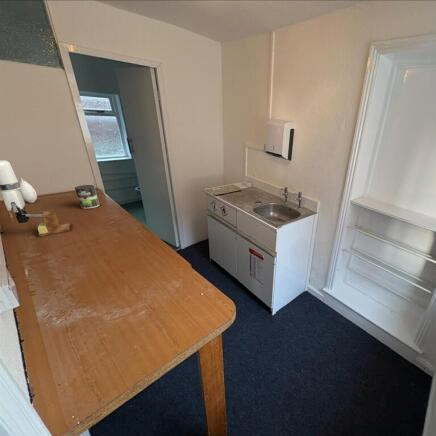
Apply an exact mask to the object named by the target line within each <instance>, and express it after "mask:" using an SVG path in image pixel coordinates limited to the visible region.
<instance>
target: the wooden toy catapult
mask: <svg viewBox="0 0 436 436" xmlns="http://www.w3.org/2000/svg"><path fill="white" fill-rule="evenodd" d="M46 213H47V214H46ZM42 216H43V217H42V218H43V221H44V223H46V226H47V228H48V232H47V233H42V234H40V233H39V232H38V234H37V235H38V237H44V236H48V235H54V234H60V233H64V232H70V231H71V223H63V224H60V222H59V221H60V220H59V219H58V216H57V214H56V210H55V209H54V210H46V211H42Z"/></svg>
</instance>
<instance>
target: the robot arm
mask: <svg viewBox="0 0 436 436" xmlns="http://www.w3.org/2000/svg"><path fill="white" fill-rule="evenodd" d="M16 175H17V174H16V173H15V171H14V169H13V167H12V164H11V163H10V161H8V160H5V159H0V194H1V198H2V200H3V203H4V205H5V207H6V210H7V211H8V212H12V211H13V214H14V215H15V218H16V220H17V222H18V223H19V224H24V223H28V222H29V220H30V217H26V215H25V214H28V212H27V211H26V208H25V206H26V201H24V199H23V197H22V195H21V193H20V191H19V189H21V187H20V181H19V180H18V178H17V176H16ZM24 213H25V214H24Z"/></svg>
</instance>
